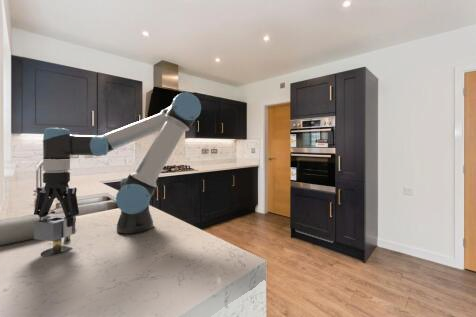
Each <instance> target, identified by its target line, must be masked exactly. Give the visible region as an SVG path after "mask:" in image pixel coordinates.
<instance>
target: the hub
mask: <svg viewBox="0 0 476 317" xmlns="http://www.w3.org/2000/svg"><path fill="white" fill-rule="evenodd" d="M62 239H63V238H61V239H58V240H55V241H52V243H53V245H52V247H51V248H47V249H45V250H43V251H42V252H41V253H40V256H41V257H44V258H46V257H48V258H50V257H56V256H60V255H63V254H65V253H68V252H70V251H72V250H73V249H74V248H73V247H70V246H66V245H62V244H63V243H62V241H63V240H62Z"/></svg>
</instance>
